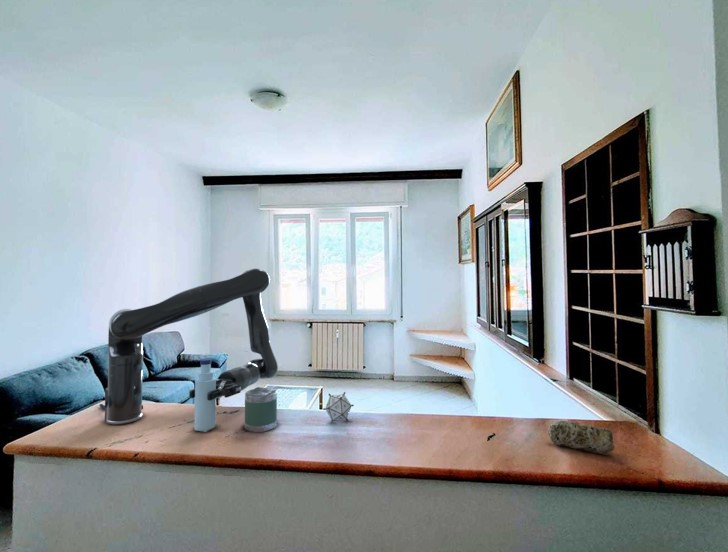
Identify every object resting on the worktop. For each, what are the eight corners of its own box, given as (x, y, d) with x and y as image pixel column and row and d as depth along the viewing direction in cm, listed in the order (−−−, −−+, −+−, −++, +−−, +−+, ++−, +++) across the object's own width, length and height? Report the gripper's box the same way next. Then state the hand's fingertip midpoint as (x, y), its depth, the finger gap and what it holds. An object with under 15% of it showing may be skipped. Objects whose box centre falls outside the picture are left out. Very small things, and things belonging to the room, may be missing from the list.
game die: (342, 435, 119) (349, 415, 113) (316, 422, 121) (321, 402, 115) (353, 411, 126) (359, 391, 121) (328, 400, 128) (334, 380, 123)
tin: (238, 429, 114) (238, 394, 114) (255, 418, 122) (256, 385, 123) (266, 433, 111) (266, 397, 111) (282, 422, 119) (282, 388, 120)
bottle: (190, 431, 113) (191, 360, 114) (203, 423, 118) (204, 356, 119) (206, 433, 111) (207, 362, 112) (219, 426, 116) (220, 358, 117)
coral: (547, 446, 103) (546, 422, 103) (549, 438, 108) (549, 415, 108) (614, 460, 95) (613, 434, 95) (614, 450, 100) (613, 425, 101)
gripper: (216, 366, 131) (179, 380, 115) (254, 370, 126) (221, 384, 110) (216, 390, 131) (178, 406, 115) (254, 394, 126) (220, 412, 110)
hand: (199, 395), depth 113 cm, fingers closed on bottle, 5 cm apart
